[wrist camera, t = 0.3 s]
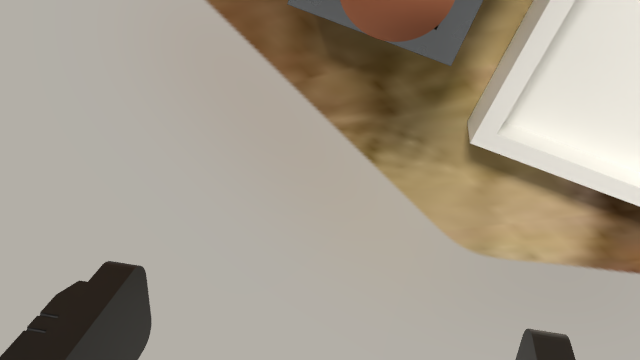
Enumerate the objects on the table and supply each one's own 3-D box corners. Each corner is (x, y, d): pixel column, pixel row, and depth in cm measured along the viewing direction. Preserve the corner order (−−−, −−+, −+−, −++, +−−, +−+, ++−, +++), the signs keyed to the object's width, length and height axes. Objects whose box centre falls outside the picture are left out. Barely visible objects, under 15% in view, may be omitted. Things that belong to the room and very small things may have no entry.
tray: (589, -103, 25) (603, -96, 23) (833, -7, 26) (869, 9, 24) (467, 121, 32) (469, 143, 30) (663, 195, 32) (679, 221, 30)
